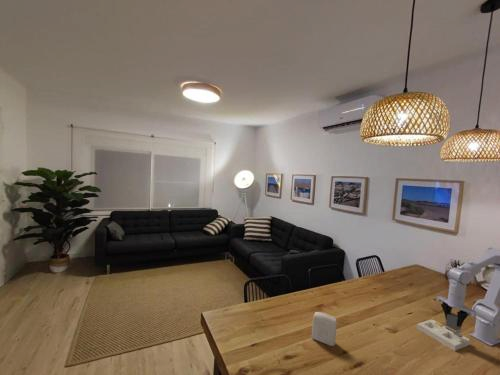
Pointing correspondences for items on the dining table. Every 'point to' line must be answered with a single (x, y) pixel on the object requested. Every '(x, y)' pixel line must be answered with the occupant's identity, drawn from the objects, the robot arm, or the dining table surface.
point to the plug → (452, 323)
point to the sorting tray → (443, 335)
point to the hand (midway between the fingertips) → (453, 322)
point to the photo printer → (324, 328)
